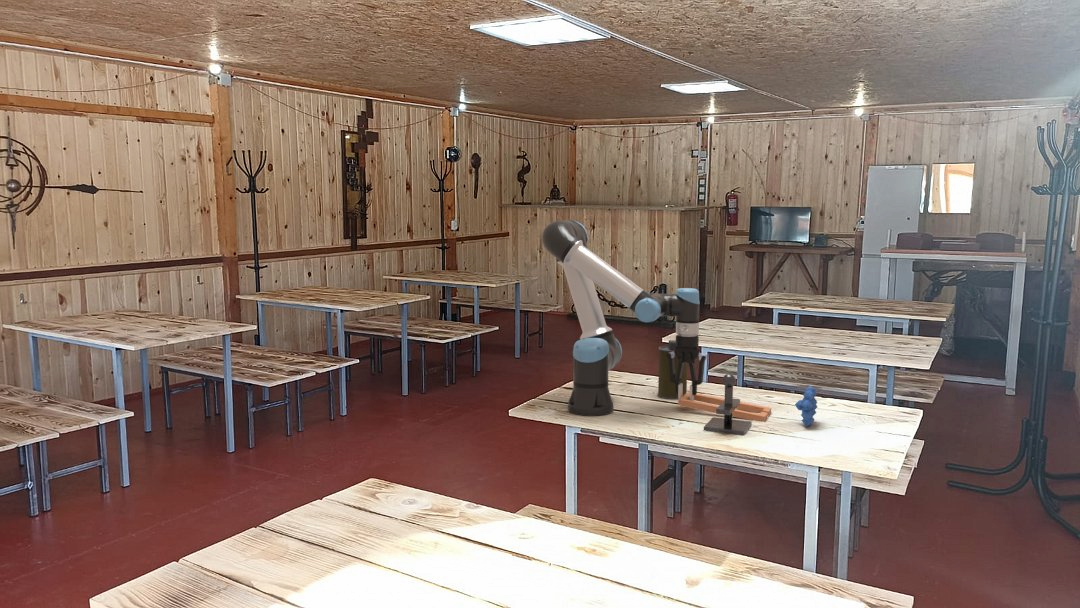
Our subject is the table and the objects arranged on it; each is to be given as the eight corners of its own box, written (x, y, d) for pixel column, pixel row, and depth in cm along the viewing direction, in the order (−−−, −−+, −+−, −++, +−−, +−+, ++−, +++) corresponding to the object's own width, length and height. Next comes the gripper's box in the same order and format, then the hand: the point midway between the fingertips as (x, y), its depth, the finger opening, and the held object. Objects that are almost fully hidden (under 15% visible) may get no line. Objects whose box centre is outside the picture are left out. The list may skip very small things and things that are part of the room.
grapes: (797, 418, 252) (799, 381, 251) (819, 421, 249) (821, 383, 247) (790, 427, 242) (792, 389, 240) (813, 430, 239) (815, 391, 237)
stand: (702, 431, 238) (703, 377, 236) (714, 419, 251) (715, 367, 249) (742, 436, 233) (744, 380, 231) (752, 423, 246) (754, 371, 244)
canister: (689, 399, 278) (690, 343, 275) (659, 399, 278) (660, 343, 275) (684, 392, 288) (685, 338, 286) (655, 392, 288) (656, 338, 286)
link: (678, 405, 260) (678, 399, 260) (687, 397, 271) (688, 391, 271) (764, 422, 249) (765, 416, 249) (770, 413, 260) (771, 408, 259)
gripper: (660, 334, 263) (659, 403, 266) (708, 338, 256) (707, 408, 259) (666, 331, 269) (665, 398, 272) (714, 334, 263) (712, 403, 265)
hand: (685, 403), depth 266 cm, fingers open, 3 cm apart
